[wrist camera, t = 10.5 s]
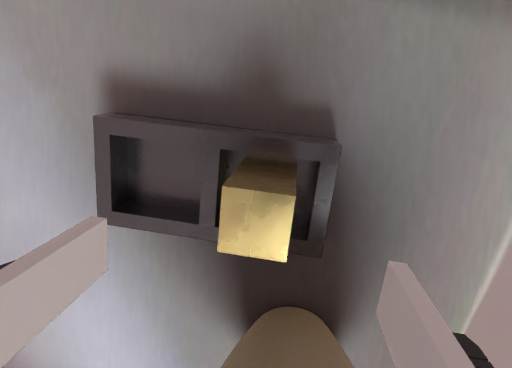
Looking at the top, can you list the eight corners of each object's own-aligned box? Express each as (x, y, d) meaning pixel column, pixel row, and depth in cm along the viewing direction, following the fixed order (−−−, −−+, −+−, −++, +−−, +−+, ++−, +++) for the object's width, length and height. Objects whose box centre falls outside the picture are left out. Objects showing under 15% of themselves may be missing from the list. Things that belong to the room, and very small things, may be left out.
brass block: (290, 211, 26) (286, 262, 18) (241, 204, 26) (217, 251, 19) (297, 163, 25) (296, 196, 17) (245, 156, 25) (222, 186, 18)
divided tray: (319, 240, 27) (321, 258, 24) (117, 209, 29) (97, 223, 26) (336, 139, 24) (341, 146, 22) (115, 112, 26) (93, 115, 23)
